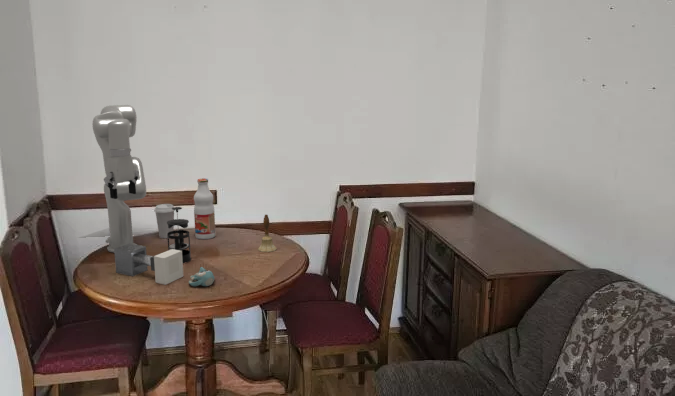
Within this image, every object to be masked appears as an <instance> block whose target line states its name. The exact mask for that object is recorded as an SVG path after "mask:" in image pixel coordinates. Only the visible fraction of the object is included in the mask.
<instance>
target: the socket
mask: <svg viewBox="0 0 675 396" xmlns="http://www.w3.org/2000/svg"><path fill="white" fill-rule="evenodd" d="M155 255H156V256H155ZM155 255H153V256H154V266H155V271H154V277H155V280H154V281H155V283H157V284H160V285H165V286H166V285H168V284H170V283H172V282H175V281H176V280H179V279H181V278H182V277H184V265H183V264H184V263H183V260H182V251H180V250H175V249H170V250H166V251H164V252H161V253H158V254H155Z"/></svg>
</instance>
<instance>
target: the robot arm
mask: <svg viewBox="0 0 675 396" xmlns="http://www.w3.org/2000/svg"><path fill="white" fill-rule="evenodd" d="M136 128H137V112H136V110H135V107H133V106H132V105H130V104H129V105H128V104H122V105H118V104H116V105H115V104H114V105H106V106H104V107H103V108H102V109H101V110H100V114H97V115H95V116H94V117H93V120H92V131H93V134H94V137H95V140H96V143H97V144H98V146H99V148H100V150H101V153H102V158H103V166H104V167H103V168H104V173H105V177H104V178H103V182H104V184H103V192H104V196H105V200H106V206H107V215H108V226H109V227H108V229H109V236H108V237H107V239H105V241H104V242H105V243H107V244H109V245H108V246H107V251H108V252H110V253H114V249H115V248H118V247H121V246H123V245H126V244H129V243H130V244H135V245H138V244H137V243H135V242H134V237H133V223H132V221H133V220H132V211H131V208H130V207H129V205H128V204H127V203H125V201H133V200H141V199H144V198H145V197H146V195H147V185H146V179H145V173H144V167H143V162H142V160H141V158H139V157H136V156H132V155H131V152H132V149H131V143H130V138H133V137H134V136H135V134H136V130H137V129H136Z"/></svg>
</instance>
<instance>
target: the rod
mask: <svg viewBox="0 0 675 396" xmlns="http://www.w3.org/2000/svg"><path fill="white" fill-rule="evenodd" d="M156 255H157V254H155V255H148V254H147V255H143V254H138V253H135V254H133V257H134V263H136V264H141V265H146V266H147V267H150V271H152V272H155V266H154V256H156Z"/></svg>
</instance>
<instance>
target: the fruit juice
mask: <svg viewBox="0 0 675 396" xmlns="http://www.w3.org/2000/svg"><path fill="white" fill-rule="evenodd" d="M197 184H198V185H197V190H196V192H195V193H194V195H193V200H194V206H193V215H194V219H193V220H194V235H195V238H196V239H198V240H211V239H213V238H215V237H216V221H215V219H216V218H215V206H214V194H213V193H212V192H211V191H210V188H209V185H208V184H209V178H204V177H203V178H198V179H197Z"/></svg>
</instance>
